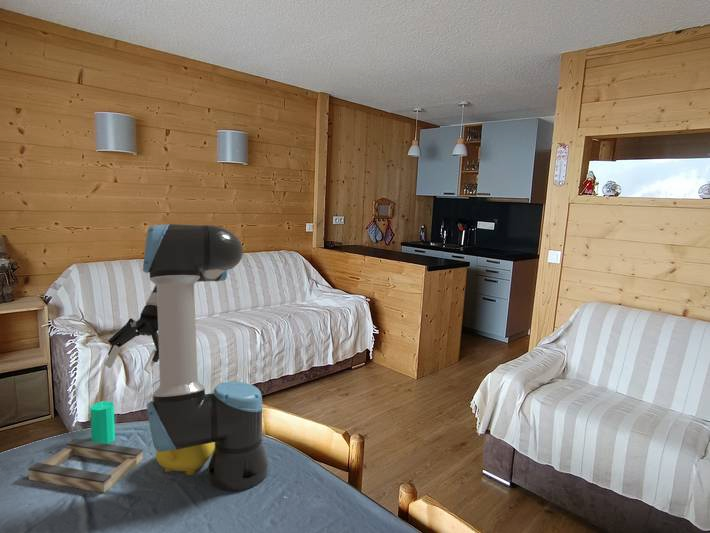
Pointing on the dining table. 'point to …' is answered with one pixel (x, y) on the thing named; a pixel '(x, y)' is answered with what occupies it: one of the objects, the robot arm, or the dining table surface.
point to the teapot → (185, 458)
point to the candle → (102, 422)
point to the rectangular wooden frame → (83, 478)
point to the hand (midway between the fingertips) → (127, 368)
